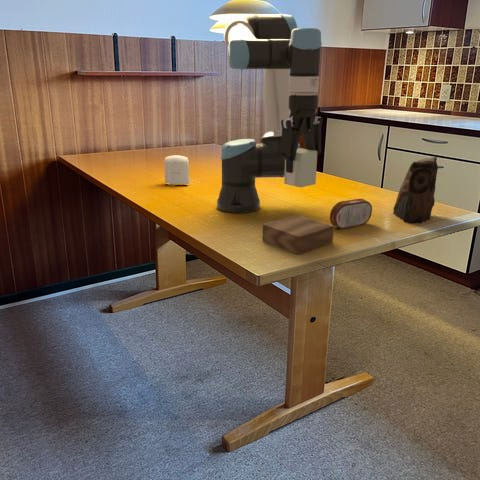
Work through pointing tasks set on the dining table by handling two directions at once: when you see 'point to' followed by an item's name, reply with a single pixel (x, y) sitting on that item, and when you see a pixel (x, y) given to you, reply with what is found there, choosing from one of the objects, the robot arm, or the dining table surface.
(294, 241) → the walnut board
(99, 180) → the dining table surface
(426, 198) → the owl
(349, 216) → the tin
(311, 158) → the sage block
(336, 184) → the dining table surface
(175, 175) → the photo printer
